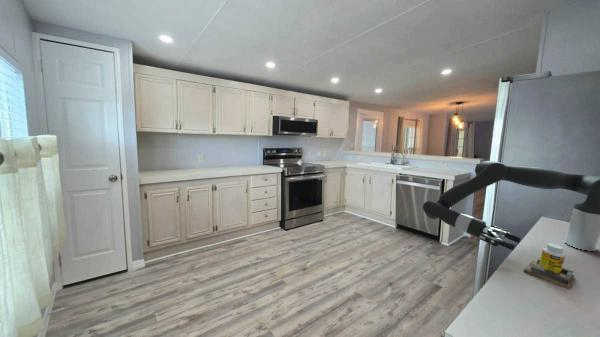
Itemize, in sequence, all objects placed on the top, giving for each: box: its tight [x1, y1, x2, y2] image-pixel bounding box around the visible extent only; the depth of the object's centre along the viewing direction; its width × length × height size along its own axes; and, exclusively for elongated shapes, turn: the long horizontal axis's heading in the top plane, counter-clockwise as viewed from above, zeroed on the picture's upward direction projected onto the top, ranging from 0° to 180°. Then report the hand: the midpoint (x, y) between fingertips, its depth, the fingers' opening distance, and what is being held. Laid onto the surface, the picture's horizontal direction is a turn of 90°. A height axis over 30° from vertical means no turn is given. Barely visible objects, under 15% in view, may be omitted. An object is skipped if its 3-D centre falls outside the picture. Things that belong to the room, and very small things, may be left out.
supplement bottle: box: [538, 242, 566, 276], centre depth 85 cm, size 6×6×10 cm
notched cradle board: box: [523, 258, 576, 290], centre depth 85 cm, size 12×11×2 cm
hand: (517, 244), depth 92 cm, fingers open, 8 cm apart
